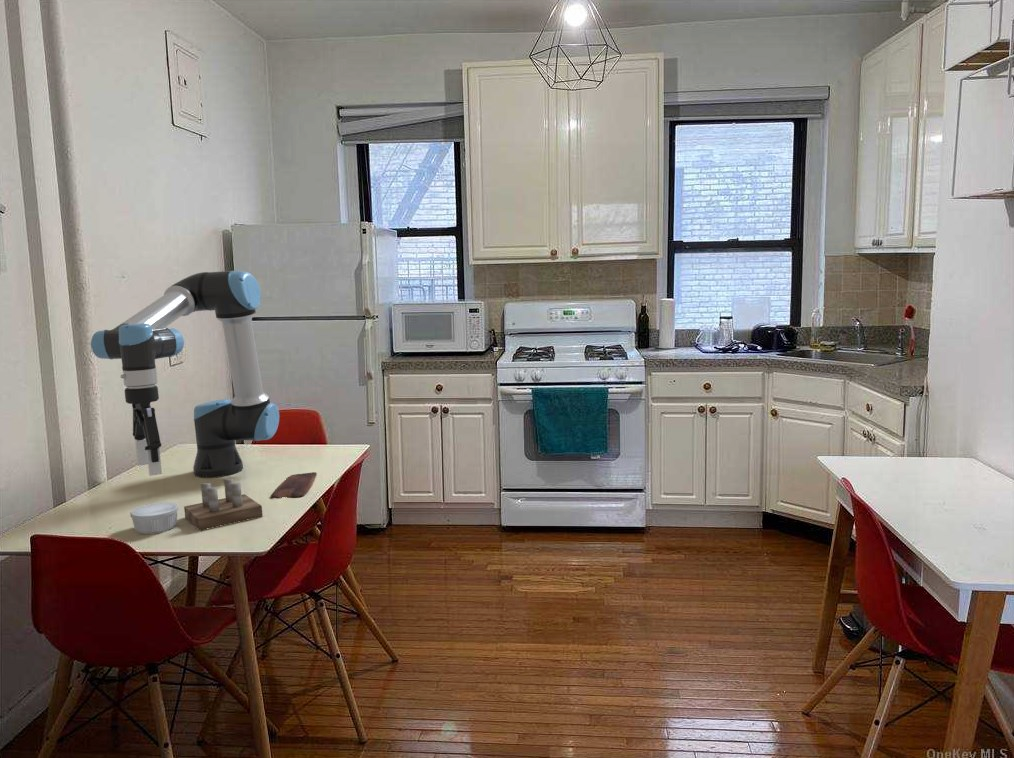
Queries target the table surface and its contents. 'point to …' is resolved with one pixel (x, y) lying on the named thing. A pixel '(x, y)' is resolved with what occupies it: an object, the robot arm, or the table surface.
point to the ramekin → (154, 517)
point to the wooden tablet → (295, 486)
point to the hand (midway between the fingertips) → (149, 469)
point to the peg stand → (222, 506)
